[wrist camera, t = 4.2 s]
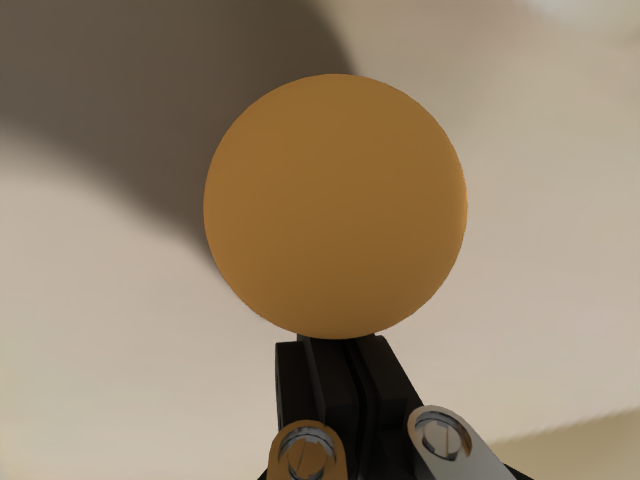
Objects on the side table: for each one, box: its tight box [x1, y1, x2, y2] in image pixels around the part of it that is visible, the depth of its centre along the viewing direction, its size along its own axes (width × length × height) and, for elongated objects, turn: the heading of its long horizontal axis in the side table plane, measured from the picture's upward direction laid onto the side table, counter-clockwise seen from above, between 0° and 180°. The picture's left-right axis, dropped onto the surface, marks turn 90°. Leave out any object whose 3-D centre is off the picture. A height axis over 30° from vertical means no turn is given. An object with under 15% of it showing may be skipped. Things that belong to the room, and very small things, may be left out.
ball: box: [203, 74, 468, 339], centre depth 7 cm, size 6×6×6 cm
